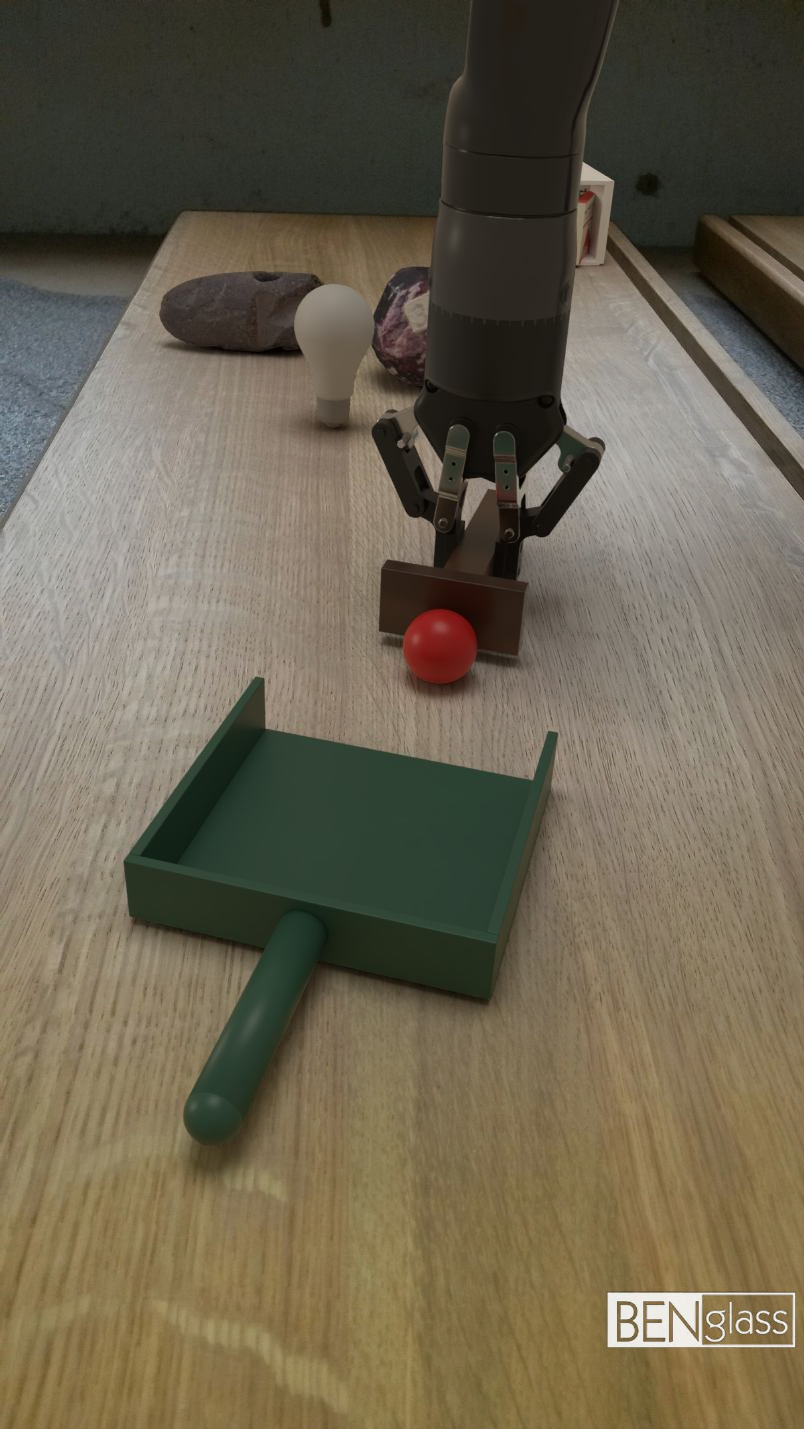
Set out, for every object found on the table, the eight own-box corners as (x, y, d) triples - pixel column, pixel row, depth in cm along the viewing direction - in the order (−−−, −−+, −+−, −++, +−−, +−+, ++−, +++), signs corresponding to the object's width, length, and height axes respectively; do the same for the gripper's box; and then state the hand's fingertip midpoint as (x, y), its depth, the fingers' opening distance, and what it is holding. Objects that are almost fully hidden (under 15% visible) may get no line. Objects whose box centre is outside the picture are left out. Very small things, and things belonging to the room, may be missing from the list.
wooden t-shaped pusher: (442, 524, 81) (446, 467, 79) (561, 543, 79) (569, 485, 77) (378, 631, 69) (380, 568, 66) (517, 656, 67) (525, 592, 65)
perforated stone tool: (156, 352, 111) (150, 274, 107) (166, 335, 115) (162, 259, 111) (320, 361, 111) (321, 282, 107) (325, 344, 115) (326, 268, 111)
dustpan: (256, 731, 61) (255, 675, 59) (550, 788, 58) (558, 731, 57) (-1, 1117, 42) (-15, 1051, 40) (425, 1233, 39) (431, 1168, 37)
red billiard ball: (471, 632, 62) (464, 702, 64) (488, 605, 66) (480, 672, 67) (396, 619, 63) (391, 688, 65) (416, 592, 66) (411, 659, 68)
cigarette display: (518, 229, 160) (525, 151, 154) (559, 229, 161) (567, 152, 155) (562, 268, 143) (571, 182, 138) (607, 268, 144) (618, 183, 139)
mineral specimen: (337, 365, 104) (363, 245, 102) (397, 385, 113) (422, 274, 111) (434, 387, 100) (464, 261, 97) (489, 405, 109) (517, 290, 107)
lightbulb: (282, 418, 98) (281, 278, 92) (351, 409, 101) (354, 272, 94) (313, 445, 94) (314, 299, 88) (384, 434, 96) (389, 292, 90)
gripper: (640, 292, 66) (597, 578, 75) (392, 263, 68) (382, 543, 78) (624, 329, 60) (579, 636, 69) (352, 296, 62) (346, 595, 72)
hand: (474, 585), depth 74 cm, fingers closed on wooden t-shaped pusher, 2 cm apart
